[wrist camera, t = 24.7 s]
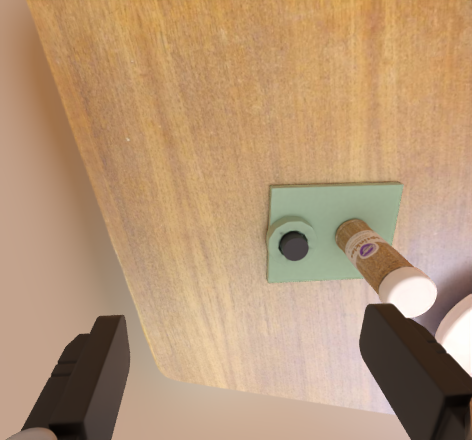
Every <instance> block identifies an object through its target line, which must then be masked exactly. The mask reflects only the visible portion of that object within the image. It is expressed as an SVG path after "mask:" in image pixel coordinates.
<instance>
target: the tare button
mask: <svg viewBox="0 0 472 440" xmlns="http://www.w3.org/2000/svg"><path fill="white" fill-rule="evenodd" d="M280 247H281V250H282V252H283V254H284V256H285V257H286V258H287V259H288V260H291V261H298V260H301V259H303V258H304V257H305V256H306V255H307V253H308V250H309V247H308V244H307V242H306V240H305V239H304V237H303V236H302V235H301V234H300V233H298V232H290V233H287V234H286V235H284V236H283V237H282V239H281V241H280Z"/></svg>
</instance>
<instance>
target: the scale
mask: <svg viewBox="0 0 472 440" xmlns="http://www.w3.org/2000/svg"><path fill="white" fill-rule="evenodd" d="M402 191H403V184H402V183H400V182H376V183H340V184H304V185H270V196H269V224H268V231H267V234H266V246H267V249H268V252H267V281H268V283H282V282H302V281H323V280H343V279H363V278H364V277H363V276H362V275H361V274H360V272H359V271H358V270H357V269H356V268H355V266H354V265H353V264H352V263H351V261H350V260H349V259H348V258H347V256H346V254H345V253H344V252H343V251H342V250H341V249H340V248H339V247H338V246H337V244H336V241H335V235H336V232H337V230H338V228H339V227H340V225H342V224H343V223H344V222H346V221H349V220H352V219H358V220H362V221H364V222H366V223H367V224H368V226H369V227H370V228H371V229H372V230H373V231H374V232H376V233H377V234H378V235H380V236H381V237H382V238H383V239H384V240H385V241H386V242H388V243H389V245H390V246H392V241H393V236H394V231H395V226H396V221H397V216H398V211H399V206H400V201H401V196H402ZM290 232H298V233H300V234H301V235H302V236H303V237H304V239H305V240H306V242H307V244H308V247H309V250H308V253H307V255H306V256H305V257H304V258H303V259H301V260H298V261H291V260H288V259H287V258H286V257H285V256H284V254H283V252H282V250H281V247H280V241H281V239H282V237H283V236H284V235H286V234H287V233H290Z"/></svg>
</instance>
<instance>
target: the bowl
mask: <svg viewBox="0 0 472 440" xmlns="http://www.w3.org/2000/svg"><path fill="white" fill-rule="evenodd" d="M435 339H436V340H437V343H440V344H441V345H442V346H443V347H444V349H445V350H446V352H447V353H449V354H450V355H451V356H452V357H453V358H454V359H455V360H456V361H457V362H458V363H459V365H460V366H461V367H462V368H463V369H464V370H465V371H466V372H467V373H468V374H469V375H470V376H471V377H472V294H470V295H468V296H467V297H465V298H464V299H463V300H461V301H460V302H459V303H457V304H456V305H455V306H454V307H453V308H452V309H451V310H450V311H449V312H448V313H447V315H446V316H445V317H444V319H443V320H442V321H441V323H440V325H439V327H438V329H437V331H436V334H435Z"/></svg>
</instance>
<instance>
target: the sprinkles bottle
mask: <svg viewBox="0 0 472 440" xmlns="http://www.w3.org/2000/svg"><path fill="white" fill-rule="evenodd" d="M335 241H336V244H337V246H338V247H339V248H340V249H341V250H342V251H343V252H344V253H345V254H346V256H347V258H348V259H349V260H350V261H351V263H352V264H353V265H354V266H355V268H356V269H357V270H358V271H359V272H360V274H361V275H362V276H363V277H364V279H365V280H366V281H367V282H368V283H369V284H370V285H371V287H372V288H373V289H374V290H375V291H376V292H377V294H378V295H379V298H380V300H381V302H382V303H383V304H384V303H392V304H394V305H395V306H396V307H397V308H398V310H399V311H400V312H401V313H402V314H403V315H404V316H405V317H406V318H414V317H417V316H419V315H421V314H423V313H425V312H426V311H427V310H428V309H429V308H430V307H431V306H432V305H433V303H434V302H435V299H436V296H437V288H436V286H435V284H434V282H433V281H432V280H431V279H430V278H429V277H428V276H427V275H426V274H425V273H423V272H422V271H421V270H420V269H418V268H415V267H414V266H412V265H411V264H410V263H409V262H408V261H407V260H406V259H405V258H404V257H403V256H402V255H401V254H399V253H398V252H397V251H396V250H395V249H394V248H393V247H392V246H390V245H389V243H388V242H386V241H385V240H384V239H383V238H382V237H381V236H380V235H378V234H377V233H376V232H374V231H373V230H372V229H371V228H370V227H369V226H368V224H367V223H366V222H364V221H362V220H358V219H352V220H349V221H346V222H344V223H343V224H342V225H340V227H339V228H338V230H337V232H336V235H335Z"/></svg>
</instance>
